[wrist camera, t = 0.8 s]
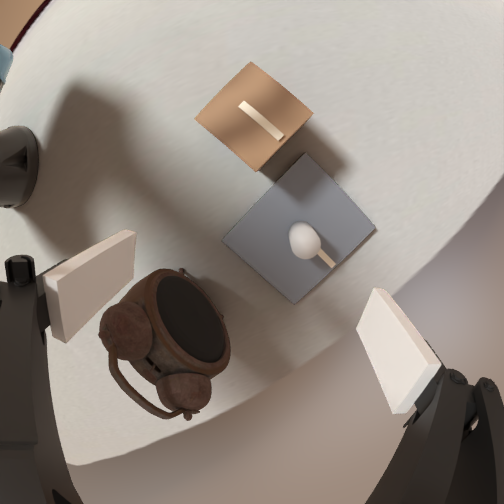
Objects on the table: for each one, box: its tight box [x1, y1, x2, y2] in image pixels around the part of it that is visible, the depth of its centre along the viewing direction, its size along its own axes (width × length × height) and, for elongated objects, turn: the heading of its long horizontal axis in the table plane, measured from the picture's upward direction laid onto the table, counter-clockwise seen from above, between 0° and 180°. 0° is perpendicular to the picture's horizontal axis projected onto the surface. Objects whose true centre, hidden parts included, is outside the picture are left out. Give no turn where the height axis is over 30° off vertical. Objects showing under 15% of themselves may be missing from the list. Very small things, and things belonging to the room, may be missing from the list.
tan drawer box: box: [194, 62, 314, 172], centre depth 27 cm, size 8×8×8 cm
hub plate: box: [222, 153, 375, 304], centre depth 32 cm, size 13×15×6 cm
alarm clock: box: [98, 268, 231, 421], centre depth 29 cm, size 15×7×20 cm, turn 38°
